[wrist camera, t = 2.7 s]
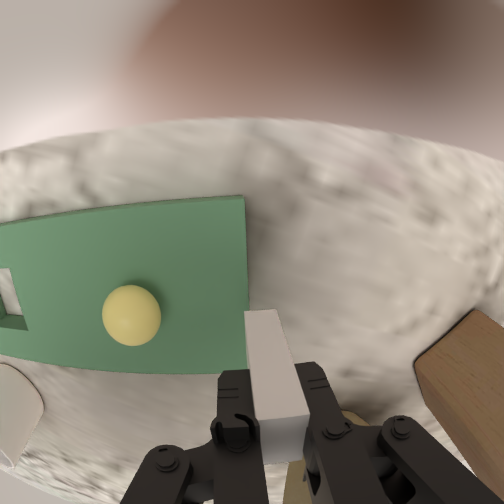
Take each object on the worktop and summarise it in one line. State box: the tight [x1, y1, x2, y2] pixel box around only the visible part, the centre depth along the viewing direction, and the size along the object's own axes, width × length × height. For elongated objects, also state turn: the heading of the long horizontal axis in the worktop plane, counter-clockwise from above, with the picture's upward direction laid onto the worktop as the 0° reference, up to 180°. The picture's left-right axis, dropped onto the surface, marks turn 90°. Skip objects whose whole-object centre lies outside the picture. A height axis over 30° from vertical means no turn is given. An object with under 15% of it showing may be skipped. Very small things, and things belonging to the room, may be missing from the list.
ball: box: [102, 285, 161, 346], centre depth 15 cm, size 4×4×4 cm
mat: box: [0, 195, 249, 374], centre depth 17 cm, size 28×12×4 cm, turn 92°
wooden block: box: [415, 310, 504, 501], centre depth 15 cm, size 10×10×20 cm
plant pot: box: [283, 411, 371, 504], centre depth 18 cm, size 15×15×16 cm
